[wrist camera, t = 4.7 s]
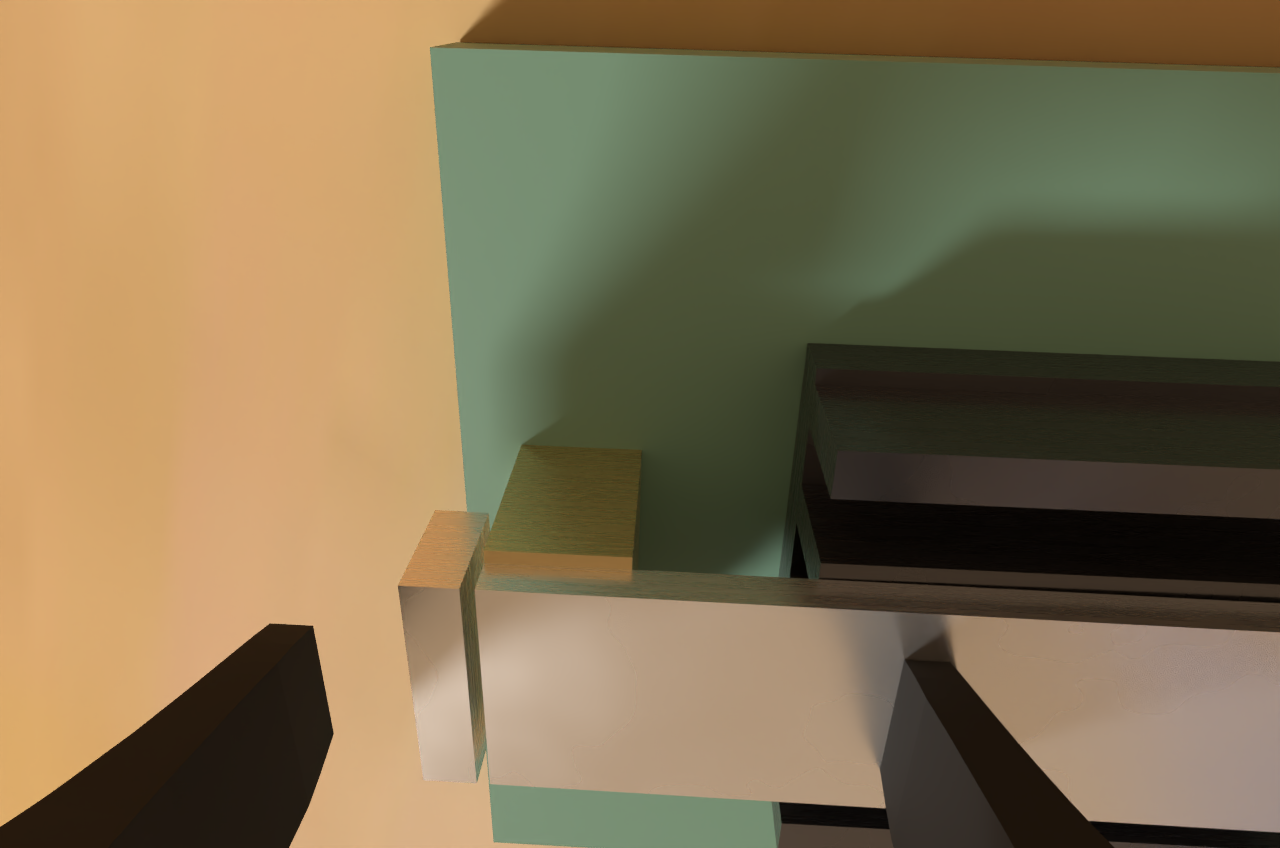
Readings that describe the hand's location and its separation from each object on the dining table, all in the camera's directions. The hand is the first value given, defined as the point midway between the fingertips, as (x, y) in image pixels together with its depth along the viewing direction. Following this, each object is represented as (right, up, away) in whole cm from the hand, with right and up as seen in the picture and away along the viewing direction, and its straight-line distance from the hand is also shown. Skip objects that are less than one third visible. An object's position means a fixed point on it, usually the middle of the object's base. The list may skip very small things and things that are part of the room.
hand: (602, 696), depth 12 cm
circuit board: (+7, +2, +4) cm, 8 cm away
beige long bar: (+5, 0, +1) cm, 6 cm away
